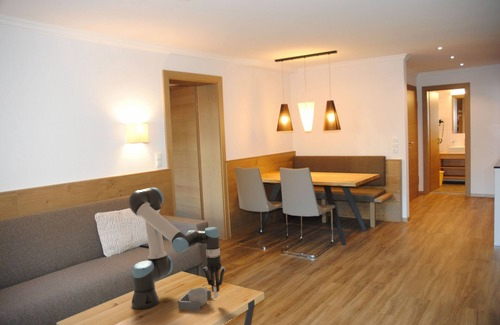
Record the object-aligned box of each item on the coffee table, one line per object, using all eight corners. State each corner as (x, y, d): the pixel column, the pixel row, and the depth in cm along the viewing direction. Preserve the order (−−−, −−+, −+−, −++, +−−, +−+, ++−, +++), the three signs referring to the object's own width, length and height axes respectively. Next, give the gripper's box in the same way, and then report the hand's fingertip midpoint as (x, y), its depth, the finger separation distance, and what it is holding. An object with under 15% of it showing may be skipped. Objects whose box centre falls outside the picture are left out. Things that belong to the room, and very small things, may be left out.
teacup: (197, 310, 220) (196, 296, 220) (184, 305, 227) (183, 291, 227) (215, 301, 231) (215, 287, 230) (202, 297, 238) (201, 284, 237)
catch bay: (178, 309, 223) (177, 301, 223) (191, 296, 240) (190, 289, 240) (200, 310, 220) (199, 302, 219) (211, 297, 237) (211, 290, 236)
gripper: (199, 257, 222) (202, 299, 224) (222, 257, 219) (225, 300, 221) (204, 253, 230) (207, 294, 231) (226, 253, 226) (229, 295, 228)
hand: (216, 297), depth 226 cm, fingers closed
